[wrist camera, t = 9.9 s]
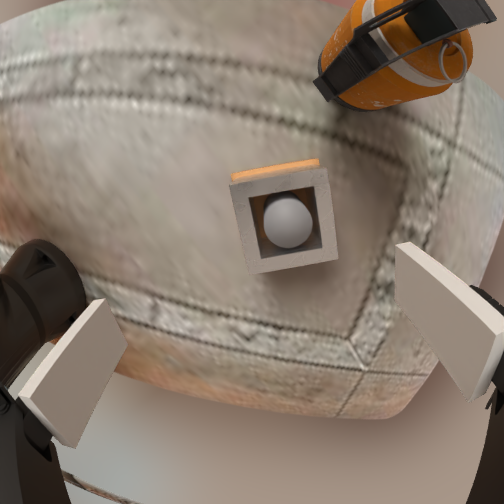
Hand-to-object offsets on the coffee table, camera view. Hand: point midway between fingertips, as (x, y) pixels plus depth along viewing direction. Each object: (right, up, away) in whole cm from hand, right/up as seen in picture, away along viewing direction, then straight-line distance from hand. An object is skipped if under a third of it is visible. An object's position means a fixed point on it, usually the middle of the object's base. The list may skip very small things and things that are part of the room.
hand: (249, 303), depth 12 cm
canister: (+11, +21, +13) cm, 27 cm away
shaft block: (+3, +7, +18) cm, 20 cm away
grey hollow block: (+3, +7, +17) cm, 19 cm away
